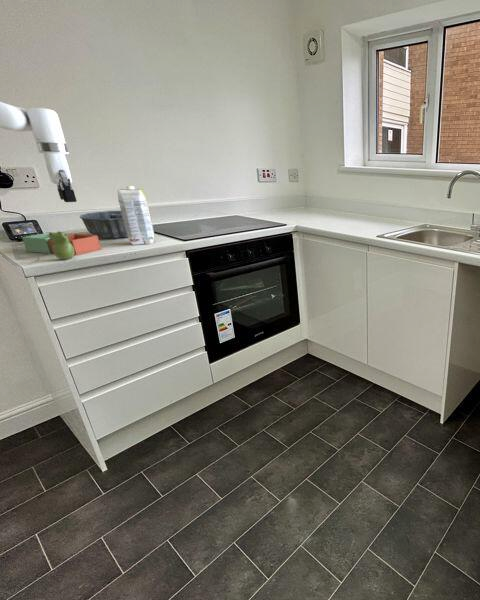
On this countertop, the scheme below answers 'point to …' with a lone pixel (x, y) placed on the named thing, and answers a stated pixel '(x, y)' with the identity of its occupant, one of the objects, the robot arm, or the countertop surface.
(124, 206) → the juice carton
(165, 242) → the countertop surface
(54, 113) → the robot arm
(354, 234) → the countertop surface
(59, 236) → the pear
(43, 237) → the green bin
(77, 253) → the terracotta bin
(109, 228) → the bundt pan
